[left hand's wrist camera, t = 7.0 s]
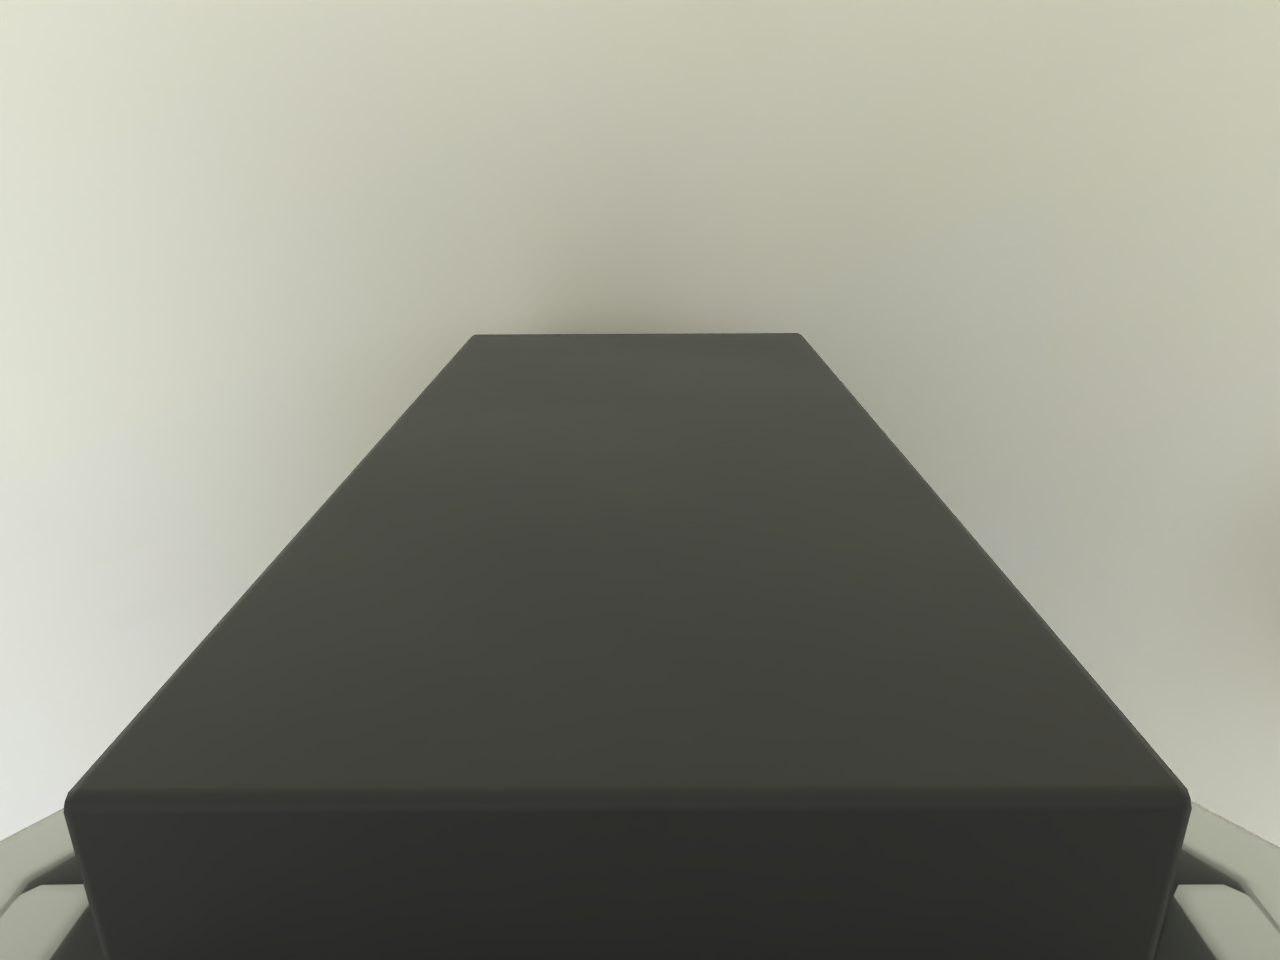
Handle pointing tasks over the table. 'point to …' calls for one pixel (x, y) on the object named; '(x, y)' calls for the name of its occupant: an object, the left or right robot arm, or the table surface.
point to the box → (630, 701)
